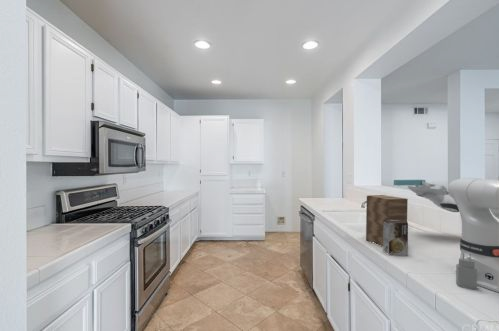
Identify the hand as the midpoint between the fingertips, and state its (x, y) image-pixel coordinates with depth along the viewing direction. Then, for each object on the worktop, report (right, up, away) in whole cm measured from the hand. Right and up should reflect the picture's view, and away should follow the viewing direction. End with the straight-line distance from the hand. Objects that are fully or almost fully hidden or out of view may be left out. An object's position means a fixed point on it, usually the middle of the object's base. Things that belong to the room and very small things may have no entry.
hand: (418, 181), depth 144 cm
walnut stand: (-23, -34, -7) cm, 42 cm away
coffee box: (-27, -34, -22) cm, 49 cm away
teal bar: (-6, -2, -2) cm, 7 cm away
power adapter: (-20, -35, -55) cm, 68 cm away
